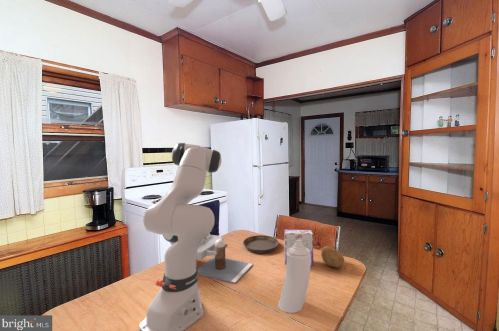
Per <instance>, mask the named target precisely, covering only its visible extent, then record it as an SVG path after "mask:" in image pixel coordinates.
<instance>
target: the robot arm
mask: <svg viewBox="0 0 499 331" xmlns="http://www.w3.org/2000/svg"><path fill="white" fill-rule="evenodd" d="M171 159H172V162H173V164H174V165H176V166H178V167H177V170H176V173H175V175H174V179H173V181H172V185H171V186H170V188H169V190H167V192H166V193H165V195H164V196H163V197H162V198H160V200H158V201H157V202H156V203H154V204H152V205H150V206H148V208H147V209H146V211H145V212H144V215H143V226H144V228H145V229H146V231H148V232H150V233H153V234H156V235H161V236H163V239H164V240H165V241H167V242H169V243H170V246H169V247H168V248H167V249H166V250H165V253H164V255H163V256H164V257H163V258H164V274H163V277H162V279H157V280H156V281H155V285H156V286H157V287H160V288H159V290H158V291H157V293H156V294H155V296H154V298H153V299H152V300H151V302H150V304H149V305H148V306H147V311H146V316H145V318H144V319H142V321H141V322H140V323H139V324H138V325H139V326H138V328H139V331H185V330H187V329H188V328H189V327H190V326H192V325H193V324H194V323H195V322H197V321H198V320H199V319H201V318H202V317H204V315H205V310H204V308H203V302H202V299H201V291H200V287H199V284H198V280H199V274H198V269H199V268H197V260H203V259H204V258H206V257H210V256H213V257H215V255H217V251H215V242H216V240H218V239H222V240H224V241H225V239H224V237H223V236H220V235H214V234H211V233H210V232H212V230H213V228H214V226H215V215H214V212H213V210H212V209H211V208H210V207H207V206H205V205H204V206H203V205H199V204H189V203H191V202H192V201H193V200H194V199H196V198H197V197H199V196H200V195H201V194H202V192H203V190H204V188H205V184H206V181H207V180H206V178H207V172H208V173H216V172H217V171H218V170H219V169H220V167H221V164H222V156H221V153H220V151H218V150H216V149H211V148H209V147H204V146H200V145H197V144H191V143H190V144H189V143H186V142H177V143H176V144H175V146H174V147H173V148H172V151H171ZM228 245H229V244H228V242H227V243H226V242H225V249H227V247H228Z"/></svg>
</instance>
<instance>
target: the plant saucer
mask: <svg viewBox="0 0 499 331" xmlns="http://www.w3.org/2000/svg"><path fill="white" fill-rule="evenodd" d="M242 244H243V246H244V248H245V249H246V250H248V251H250V252H252V253H256V254H265V253H270V252H273V251H274V250H275V249H276V248H277V247H278V246H279V241H278V239H277V238H275V237H273V236H270V235H263V234H261V235H260V234H259V235H250V236H249V237H246V238H245V239H244V240H243V242H242Z"/></svg>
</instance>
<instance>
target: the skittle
mask: <svg viewBox="0 0 499 331" xmlns="http://www.w3.org/2000/svg"><path fill="white" fill-rule="evenodd" d="M225 243H226V242H225V239H224V240H222V239H218V240H216V242H215V250H214V251H217V255H215V256H214V257H215V268H216V269H218V270H222V269H224V268H225V267H226V259H225V258H226V248H225Z"/></svg>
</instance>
